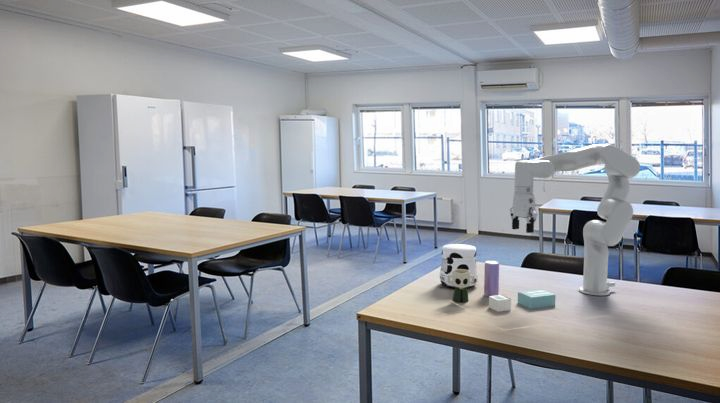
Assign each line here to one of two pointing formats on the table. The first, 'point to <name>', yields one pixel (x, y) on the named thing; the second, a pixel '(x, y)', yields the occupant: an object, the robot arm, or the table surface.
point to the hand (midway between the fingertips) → (522, 230)
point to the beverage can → (491, 278)
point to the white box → (499, 303)
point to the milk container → (458, 262)
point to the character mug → (460, 284)
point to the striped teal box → (536, 298)
